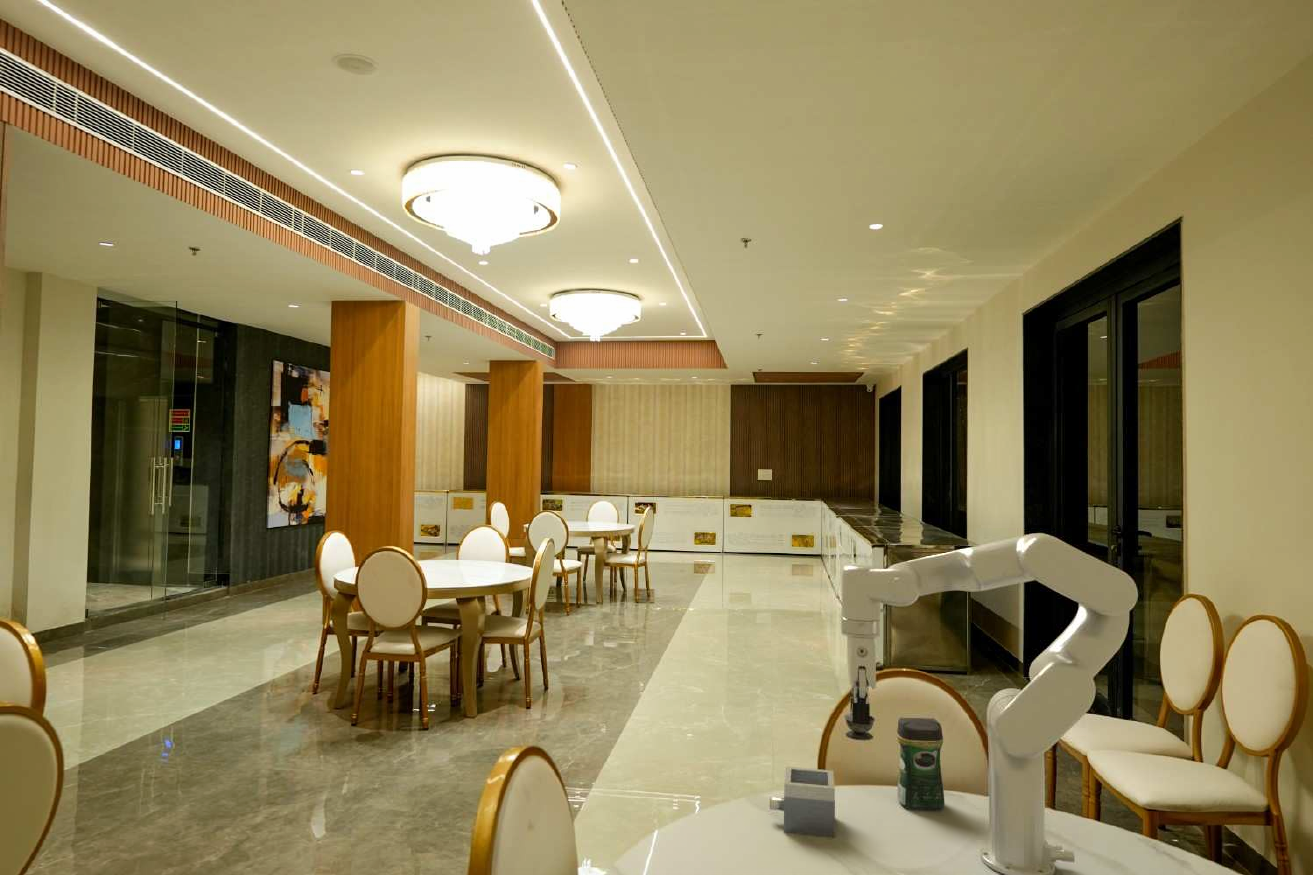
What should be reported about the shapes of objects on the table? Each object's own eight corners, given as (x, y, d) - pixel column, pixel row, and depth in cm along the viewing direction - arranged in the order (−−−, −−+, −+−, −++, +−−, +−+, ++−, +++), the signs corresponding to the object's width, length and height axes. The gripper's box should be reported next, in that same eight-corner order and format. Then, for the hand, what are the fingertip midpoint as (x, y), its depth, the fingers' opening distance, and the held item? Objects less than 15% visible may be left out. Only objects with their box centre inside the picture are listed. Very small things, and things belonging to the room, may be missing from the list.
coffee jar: (936, 797, 174) (936, 713, 175) (948, 812, 166) (948, 724, 167) (893, 796, 174) (893, 712, 175) (903, 811, 166) (902, 723, 167)
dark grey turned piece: (838, 732, 156) (839, 672, 156) (864, 730, 158) (864, 670, 158) (854, 741, 150) (855, 679, 151) (880, 739, 152) (881, 677, 153)
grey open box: (833, 812, 165) (833, 767, 165) (834, 837, 153) (835, 788, 154) (771, 806, 167) (771, 761, 168) (768, 830, 156) (769, 782, 156)
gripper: (884, 636, 146) (883, 733, 145) (875, 620, 163) (875, 707, 162) (843, 634, 147) (842, 730, 146) (839, 618, 164) (838, 704, 163)
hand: (859, 717), depth 154 cm, fingers closed on dark grey turned piece, 5 cm apart
